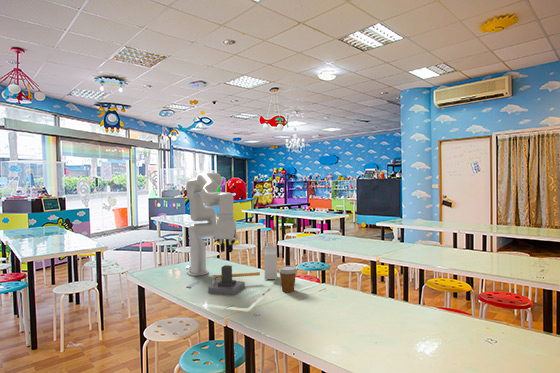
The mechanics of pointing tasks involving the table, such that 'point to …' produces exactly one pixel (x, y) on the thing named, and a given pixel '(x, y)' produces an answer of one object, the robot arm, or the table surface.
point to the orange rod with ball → (238, 275)
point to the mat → (195, 283)
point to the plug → (226, 277)
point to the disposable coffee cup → (287, 278)
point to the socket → (225, 288)
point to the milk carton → (270, 262)
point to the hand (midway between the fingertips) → (226, 251)
